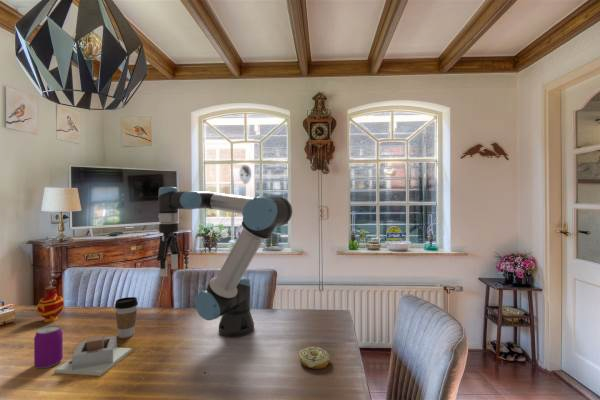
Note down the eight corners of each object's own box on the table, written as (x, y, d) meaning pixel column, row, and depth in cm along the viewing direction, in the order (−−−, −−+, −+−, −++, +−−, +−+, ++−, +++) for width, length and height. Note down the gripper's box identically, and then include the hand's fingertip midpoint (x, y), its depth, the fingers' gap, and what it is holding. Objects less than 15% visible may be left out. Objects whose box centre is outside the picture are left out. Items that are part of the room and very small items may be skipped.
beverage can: (31, 364, 108) (31, 329, 108) (59, 355, 114) (59, 322, 114) (37, 372, 103) (36, 335, 103) (65, 362, 109) (65, 328, 109)
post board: (131, 351, 117) (131, 329, 117) (100, 375, 101) (100, 350, 101) (91, 349, 119) (91, 327, 119) (54, 372, 103) (54, 347, 103)
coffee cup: (127, 340, 126) (127, 303, 126) (109, 338, 128) (109, 301, 128) (142, 331, 135) (142, 296, 134) (125, 329, 136) (125, 295, 136)
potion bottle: (68, 318, 148) (68, 286, 148) (41, 326, 140) (41, 292, 139) (59, 313, 154) (59, 283, 154) (32, 320, 145) (32, 288, 145)
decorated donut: (311, 374, 103) (311, 363, 103) (293, 360, 112) (293, 349, 112) (335, 365, 109) (335, 354, 109) (316, 352, 118) (316, 342, 118)
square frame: (116, 347, 118) (116, 335, 118) (112, 362, 107) (112, 349, 107) (80, 353, 113) (80, 341, 113) (72, 369, 103) (72, 356, 103)
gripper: (169, 221, 147) (170, 266, 148) (147, 225, 123) (148, 280, 123) (185, 220, 148) (186, 266, 148) (167, 225, 123) (168, 279, 123)
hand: (169, 272), depth 135 cm, fingers open, 13 cm apart
